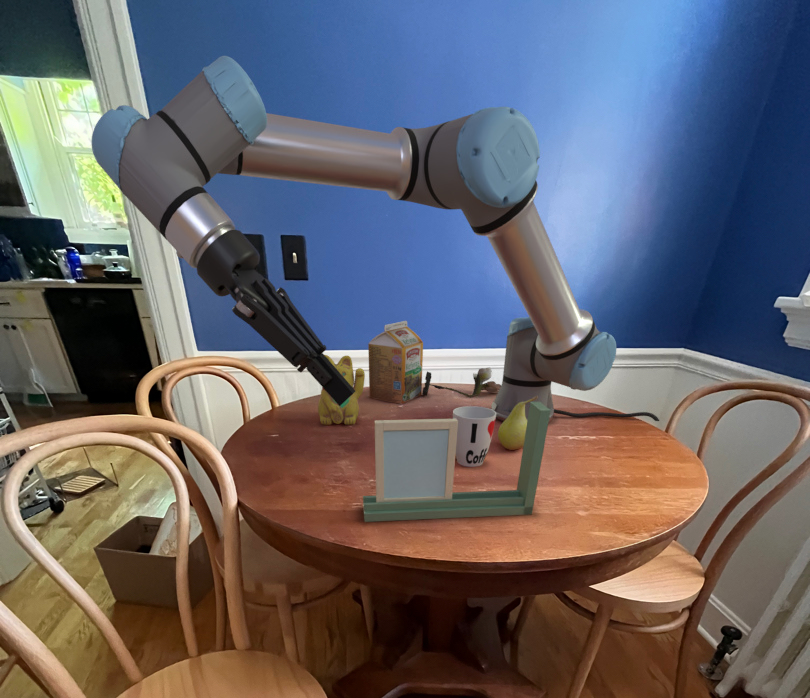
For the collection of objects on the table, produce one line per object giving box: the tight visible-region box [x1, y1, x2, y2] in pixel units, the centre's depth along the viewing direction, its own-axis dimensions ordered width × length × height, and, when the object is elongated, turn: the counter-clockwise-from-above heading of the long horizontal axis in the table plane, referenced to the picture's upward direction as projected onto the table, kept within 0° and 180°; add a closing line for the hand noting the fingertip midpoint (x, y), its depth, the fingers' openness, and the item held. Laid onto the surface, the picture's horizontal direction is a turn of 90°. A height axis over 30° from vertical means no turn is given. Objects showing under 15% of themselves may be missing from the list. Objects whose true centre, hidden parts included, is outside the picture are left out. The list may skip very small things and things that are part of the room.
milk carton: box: [367, 320, 424, 405], centre depth 129 cm, size 11×11×19 cm
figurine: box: [317, 354, 366, 426], centre depth 112 cm, size 11×9×15 cm
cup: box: [452, 405, 497, 468], centre depth 92 cm, size 8×8×10 cm
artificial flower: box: [421, 367, 502, 398], centre depth 135 cm, size 9×22×10 cm, turn 90°
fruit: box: [497, 396, 538, 451], centre depth 98 cm, size 7×8×12 cm
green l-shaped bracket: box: [362, 402, 551, 523], centre depth 73 cm, size 27×4×17 cm, turn 97°
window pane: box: [374, 418, 458, 502], centre depth 72 cm, size 12×1×13 cm, turn 97°
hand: (347, 398), depth 66 cm, fingers closed
